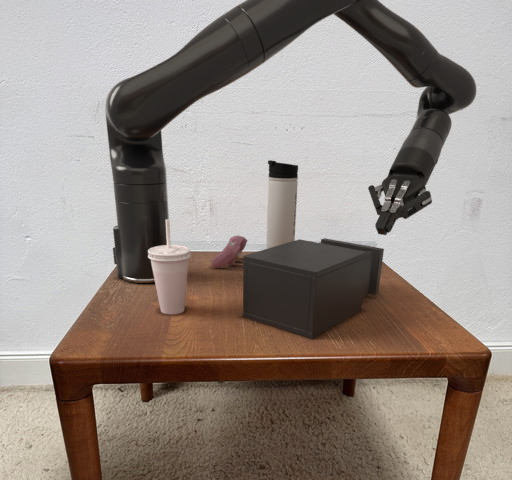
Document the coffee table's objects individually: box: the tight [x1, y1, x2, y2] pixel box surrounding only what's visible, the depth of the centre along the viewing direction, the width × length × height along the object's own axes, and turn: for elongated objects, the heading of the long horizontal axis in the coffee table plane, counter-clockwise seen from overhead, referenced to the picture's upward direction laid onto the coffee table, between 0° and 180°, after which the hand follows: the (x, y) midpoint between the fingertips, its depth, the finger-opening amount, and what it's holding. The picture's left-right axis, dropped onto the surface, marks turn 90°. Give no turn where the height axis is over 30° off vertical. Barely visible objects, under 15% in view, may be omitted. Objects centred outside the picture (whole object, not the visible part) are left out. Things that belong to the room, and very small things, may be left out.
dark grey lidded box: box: [242, 239, 368, 339], centre depth 75 cm, size 15×13×10 cm
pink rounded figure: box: [210, 234, 248, 269], centre depth 101 cm, size 10×5×7 cm, turn 168°
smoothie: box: [148, 218, 192, 315], centre depth 74 cm, size 6×6×14 cm
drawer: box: [319, 237, 385, 298], centre depth 82 cm, size 18×11×8 cm, turn 141°
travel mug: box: [265, 159, 299, 249], centre depth 106 cm, size 6×7×20 cm
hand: (381, 232), depth 91 cm, fingers closed
